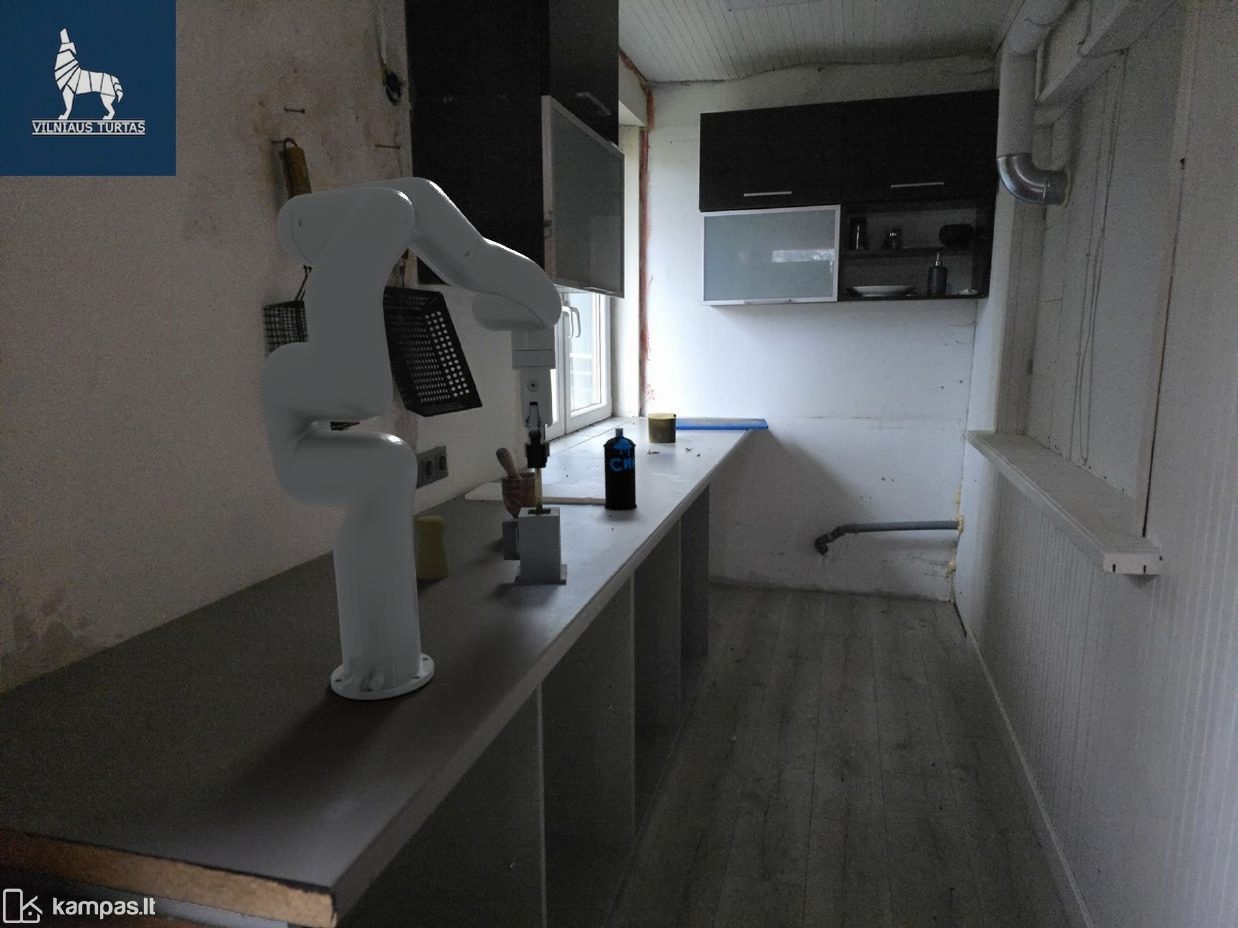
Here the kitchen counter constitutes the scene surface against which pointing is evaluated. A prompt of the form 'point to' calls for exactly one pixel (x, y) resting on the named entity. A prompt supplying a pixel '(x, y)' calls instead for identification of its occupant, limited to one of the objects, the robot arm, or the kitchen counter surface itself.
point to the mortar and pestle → (516, 486)
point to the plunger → (539, 480)
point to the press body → (535, 546)
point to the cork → (431, 549)
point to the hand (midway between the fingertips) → (537, 464)
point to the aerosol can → (620, 472)
